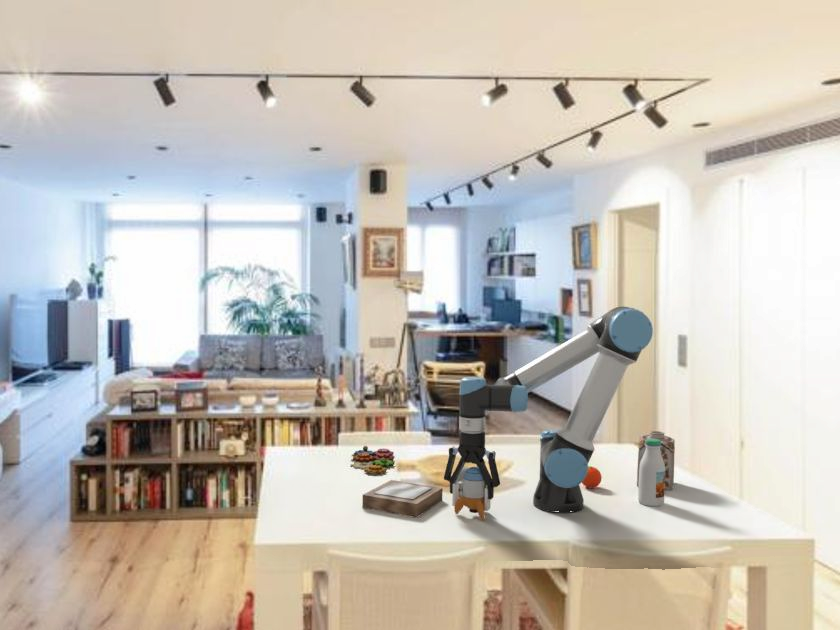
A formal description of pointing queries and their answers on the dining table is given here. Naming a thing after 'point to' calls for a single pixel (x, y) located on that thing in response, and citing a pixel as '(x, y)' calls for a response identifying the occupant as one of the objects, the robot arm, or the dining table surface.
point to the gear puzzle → (373, 460)
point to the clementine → (592, 477)
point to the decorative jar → (666, 453)
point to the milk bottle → (652, 475)
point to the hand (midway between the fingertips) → (471, 507)
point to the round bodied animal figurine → (461, 480)
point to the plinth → (402, 498)
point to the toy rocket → (472, 493)
